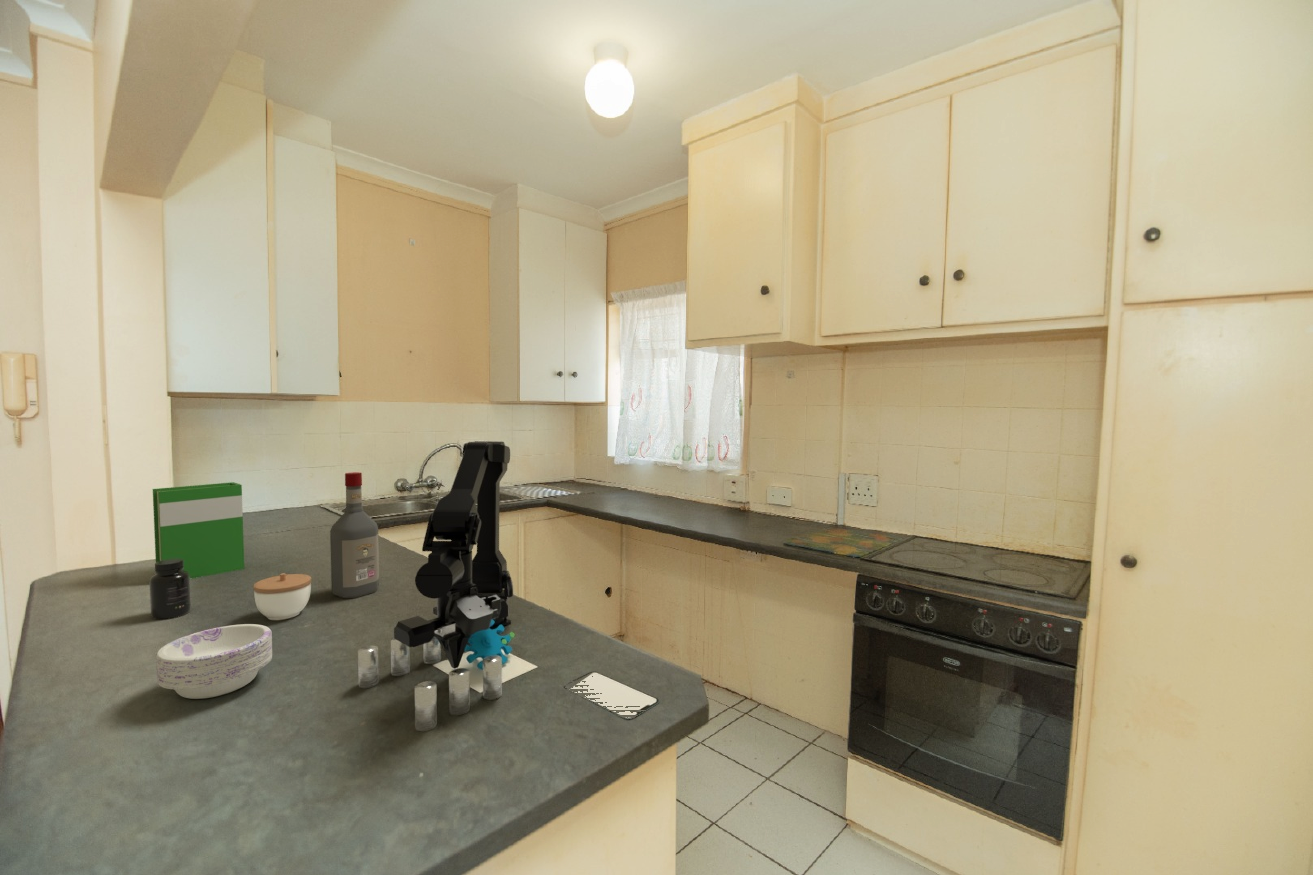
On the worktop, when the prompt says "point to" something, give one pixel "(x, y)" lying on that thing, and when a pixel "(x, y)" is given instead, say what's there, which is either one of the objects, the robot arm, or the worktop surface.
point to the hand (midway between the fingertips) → (454, 667)
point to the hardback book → (200, 527)
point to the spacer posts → (428, 689)
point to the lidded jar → (282, 595)
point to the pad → (509, 670)
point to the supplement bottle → (170, 590)
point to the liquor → (354, 546)
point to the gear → (488, 644)
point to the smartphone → (615, 694)
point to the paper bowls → (214, 660)
